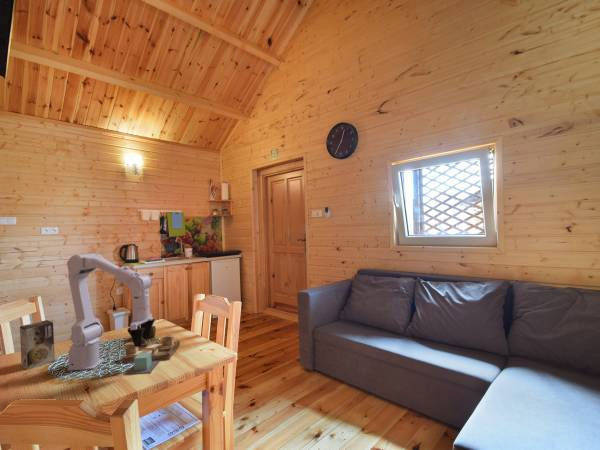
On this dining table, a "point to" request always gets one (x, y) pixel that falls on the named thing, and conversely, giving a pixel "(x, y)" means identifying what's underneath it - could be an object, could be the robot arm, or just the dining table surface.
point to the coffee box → (37, 344)
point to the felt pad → (149, 370)
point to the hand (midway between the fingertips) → (142, 342)
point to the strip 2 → (163, 342)
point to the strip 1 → (133, 351)
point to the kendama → (152, 334)
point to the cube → (142, 361)
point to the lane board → (161, 355)
